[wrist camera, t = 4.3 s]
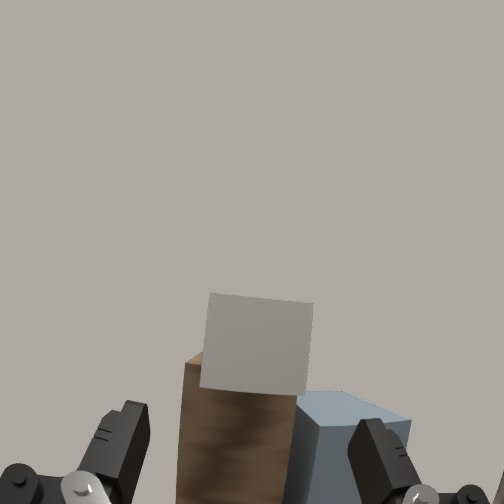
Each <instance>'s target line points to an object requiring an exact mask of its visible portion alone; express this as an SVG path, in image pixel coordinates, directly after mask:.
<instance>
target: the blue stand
mask: <svg viewBox="0 0 504 504" xmlns="http://www.w3.org/2000/svg"><path fill="white" fill-rule="evenodd" d="M371 418H380V419H381V420H382V421H383V424H384V426H385V428H386V429H391V430H392V431H393V432H395V433H396V434H397V435H398V436H399V437H400V439H401V441H402V443H403V445H404V448H405V449H406V447H407V442H408V437H409V431H410V426H411V419H408V418H406V417H403V416H401V415H398V414H395V413H393V412H390V411H388V410H385V409H383V408H380V407H378V406H376V405H373V404H371V403H368V402H366V401H363V400H361V399H359V398H357V397H354V396H352V395H350V394H348V393H345V392H343V391H305V396H300V395H297V402H296V410H295V419H294V426H293V434H292V441H291V448H290V455H289V462H288V469H287V475H286V481H285V487H284V493H283V499H282V504H362V502H361V498H360V495H359V492H358V488H357V485H356V482H355V478H354V475H353V472H352V469H351V465H350V462H349V459H348V454H347V449H348V444H349V442H350V440H351V438H352V436H353V434H354V431H355V429H356V427H357V425H358V423H359V421H360V420H361V419H371Z"/></svg>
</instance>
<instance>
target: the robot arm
mask: <svg viewBox="0 0 504 504" xmlns="http://www.w3.org/2000/svg"><path fill="white" fill-rule="evenodd" d="M149 441H150V424H149V415H148V406H147V404H144V403H139V402H135V401H130V400H127V401H126V402H125V404H124V406H123V408H122V410H121V412H119V411H114V410H111V411H110V412H109V413H108V414H106V415H105V416H104V417H103V418H102V420H101V422H100V424H99V426H98V429H97V430H96V432H95V434H94V438H92V440H91V442H90V444H89V446H88V448H87V451H86V453H85V455H84V457H83V459H82V461H81V463H80V466H79V467H78V469H77V470H76V471H74V472H70V473H69V474H67V475H66V476H64V477H52V476H43V475H37V474H36V473H35V471H34V470H33V469H32V468H31V467H29V466H27V465H25V464H21V463H16V464H12V465H10V466H8V467H7V468H6V469H5V470H4V472H3V474H2V475H1V478H0V504H131V503H132V499H133V496H134V492H135V489H136V485H137V482H138V478H139V475H140V472H141V468H142V465H143V461H144V458H145V455H146V451H147V448H148V445H149ZM347 454H348V459H349V462H350V465H351V469H352V472H353V475H354V478H355V482H356V485H357V488H358V492H359V495H360V498H361V502H362V504H490V503H489V501H488V499H487V497H486V495H485V493H484V492H483V490H482V489H481V488H480V487H478V486H476V485H465V486H463V487H462V488H461V489H460V490H459V491H458V492H457V493H437V492H436V490H435V489H433V488H432V487H430V486H428V485H425V484H422V483H421V481H420V479H419V476H418V475H417V472H416V470H415V468H414V466H413V464H412V462H411V460H410V458H409V456H408V455H407V452H406V449H405V448H404V445H403V443H402V441H401V439H400V437H399V436H398V435H397V434H396V433H395V432H393V431H392V430H391V429H386V428H385V426H384V424H383V421H382V420H381V419H380V418H371V419H361V420H360V421H359V423H358V425H357V427H356V429H355V431H354V434H353V436H352V438H351V440H350V442H349V444H348V449H347ZM493 504H504V472H503V475H502V478H501V481H500V484H499V487H498V490H497V493H496V496H495V498H494V501H493Z"/></svg>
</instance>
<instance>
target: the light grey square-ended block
mask: <svg viewBox="0 0 504 504" xmlns="http://www.w3.org/2000/svg"><path fill="white" fill-rule="evenodd" d="M312 317H313V303H303V302H293V301H282V300H272V299H263V298H253V297H244V296H235V295H226V294H218V293H210V295H209V303H208V311H207V321H206V329H205V338H204V347H203V357H202V366H201V376H200V387H202V388H210V389H219V390H228V391H238V392H249V393H262V394H277V395H300V396H305V391H306V382H307V373H308V363H309V352H310V341H311V329H312Z"/></svg>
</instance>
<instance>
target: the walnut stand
mask: <svg viewBox="0 0 504 504" xmlns="http://www.w3.org/2000/svg"><path fill="white" fill-rule="evenodd" d="M202 357H203V352H201V353H200V354H198V355H197V356H195V357H194V358H192V359H190V360H189V361H187V362H186V363H185V372H184V381H183V393H182V405H181V416H180V430H179V445H178V462H177V482H176V504H282V499H283V493H284V487H285V481H286V475H287V469H288V462H289V455H290V448H291V441H292V434H293V426H294V419H295V410H296V402H297V395H277V394H262V393H249V392H238V391H228V390H219V389H210V388H202V387H200V376H201V366H202Z"/></svg>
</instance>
